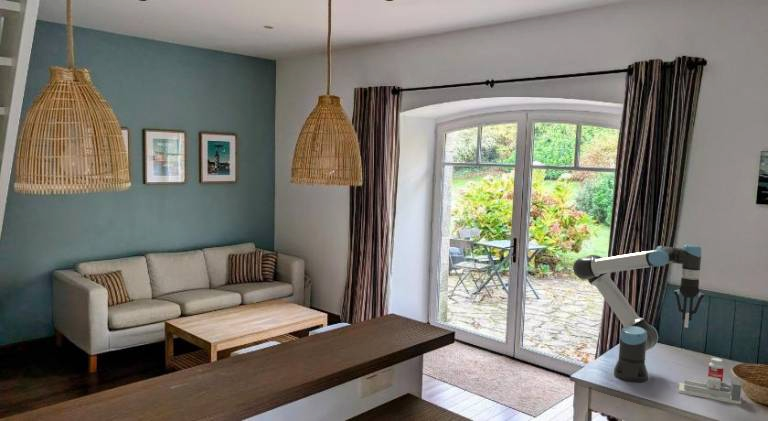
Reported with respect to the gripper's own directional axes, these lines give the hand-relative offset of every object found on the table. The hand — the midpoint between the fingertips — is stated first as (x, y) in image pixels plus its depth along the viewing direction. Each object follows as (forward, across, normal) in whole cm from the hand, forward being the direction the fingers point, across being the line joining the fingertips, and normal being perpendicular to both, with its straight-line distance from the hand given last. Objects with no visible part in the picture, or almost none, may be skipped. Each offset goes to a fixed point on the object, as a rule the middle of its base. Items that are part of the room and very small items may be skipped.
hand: (686, 326), depth 271 cm
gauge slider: (+25, +13, -13) cm, 31 cm away
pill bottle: (+27, +14, +8) cm, 31 cm away
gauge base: (+26, +11, -12) cm, 31 cm away
